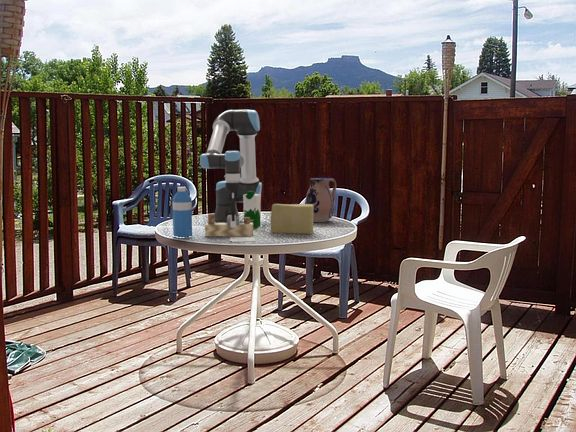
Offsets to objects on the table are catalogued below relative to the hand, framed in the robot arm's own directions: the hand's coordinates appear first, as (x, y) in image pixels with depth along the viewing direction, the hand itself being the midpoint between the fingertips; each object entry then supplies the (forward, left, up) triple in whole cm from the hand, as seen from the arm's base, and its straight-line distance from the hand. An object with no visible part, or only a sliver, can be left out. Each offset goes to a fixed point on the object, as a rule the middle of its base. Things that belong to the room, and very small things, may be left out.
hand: (233, 225), depth 318 cm
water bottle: (-19, -17, -5) cm, 26 cm away
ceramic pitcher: (+15, +66, -5) cm, 68 cm away
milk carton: (-7, +27, -5) cm, 28 cm away
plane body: (-2, -1, -5) cm, 5 cm away
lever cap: (0, 0, +1) cm, 1 cm away
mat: (+11, -8, -5) cm, 15 cm away
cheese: (+21, +23, -5) cm, 31 cm away
